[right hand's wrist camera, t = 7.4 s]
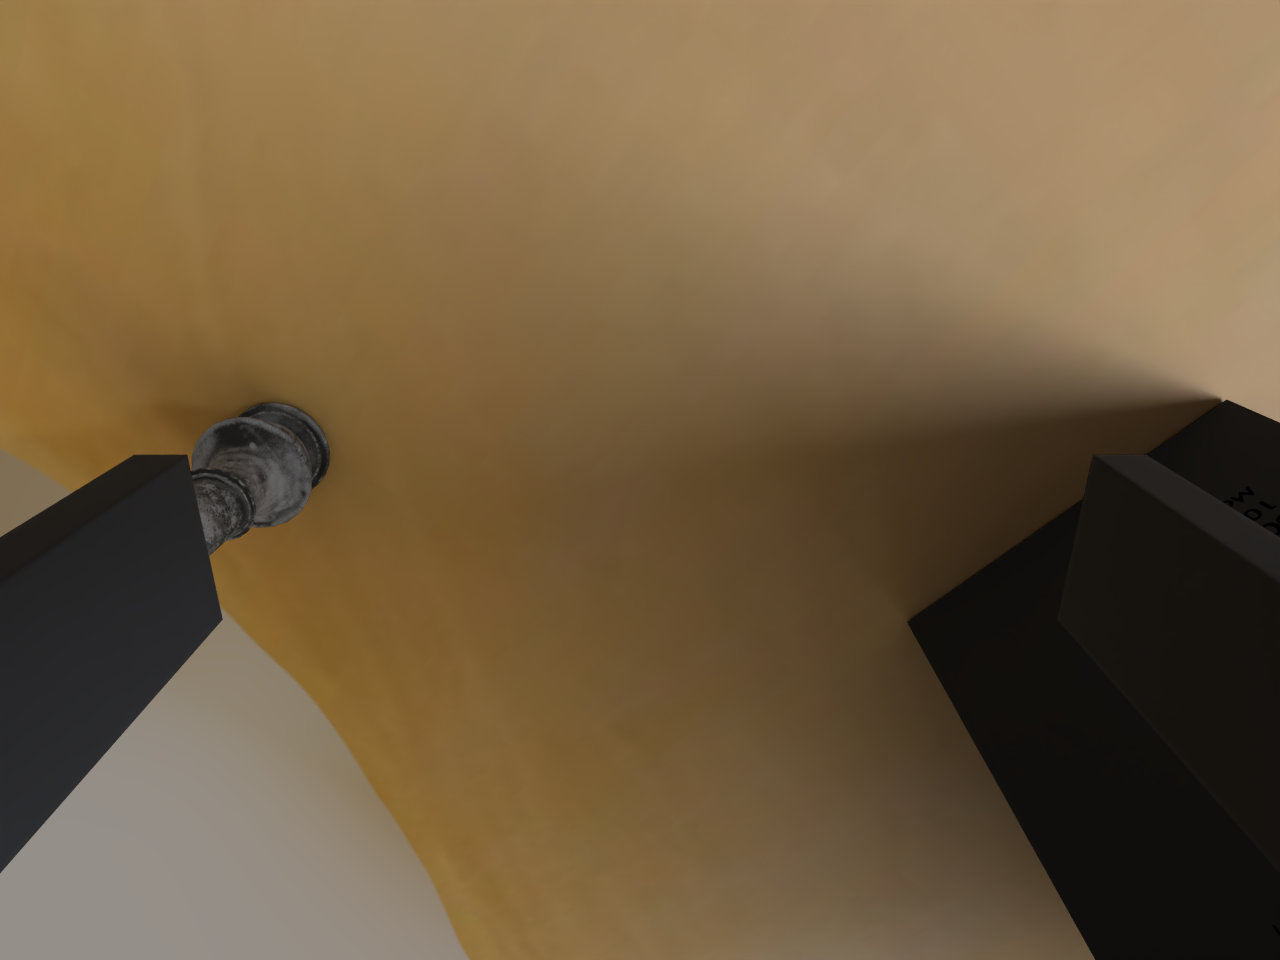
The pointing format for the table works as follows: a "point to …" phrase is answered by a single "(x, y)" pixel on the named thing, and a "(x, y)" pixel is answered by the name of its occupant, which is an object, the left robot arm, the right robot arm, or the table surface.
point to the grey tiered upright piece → (256, 470)
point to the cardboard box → (1110, 736)
